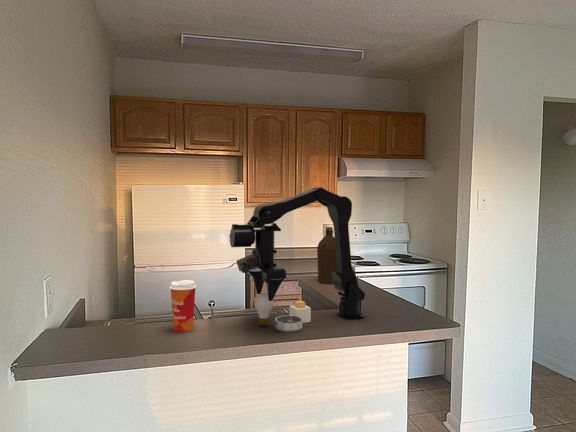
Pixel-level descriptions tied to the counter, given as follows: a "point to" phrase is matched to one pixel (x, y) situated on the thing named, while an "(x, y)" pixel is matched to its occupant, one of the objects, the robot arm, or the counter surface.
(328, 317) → the counter surface
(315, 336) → the counter surface
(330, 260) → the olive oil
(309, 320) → the white jar
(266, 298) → the light bulb
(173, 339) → the counter surface
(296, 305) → the breaker button
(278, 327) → the grey round shallow bowl
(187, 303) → the paper cup
